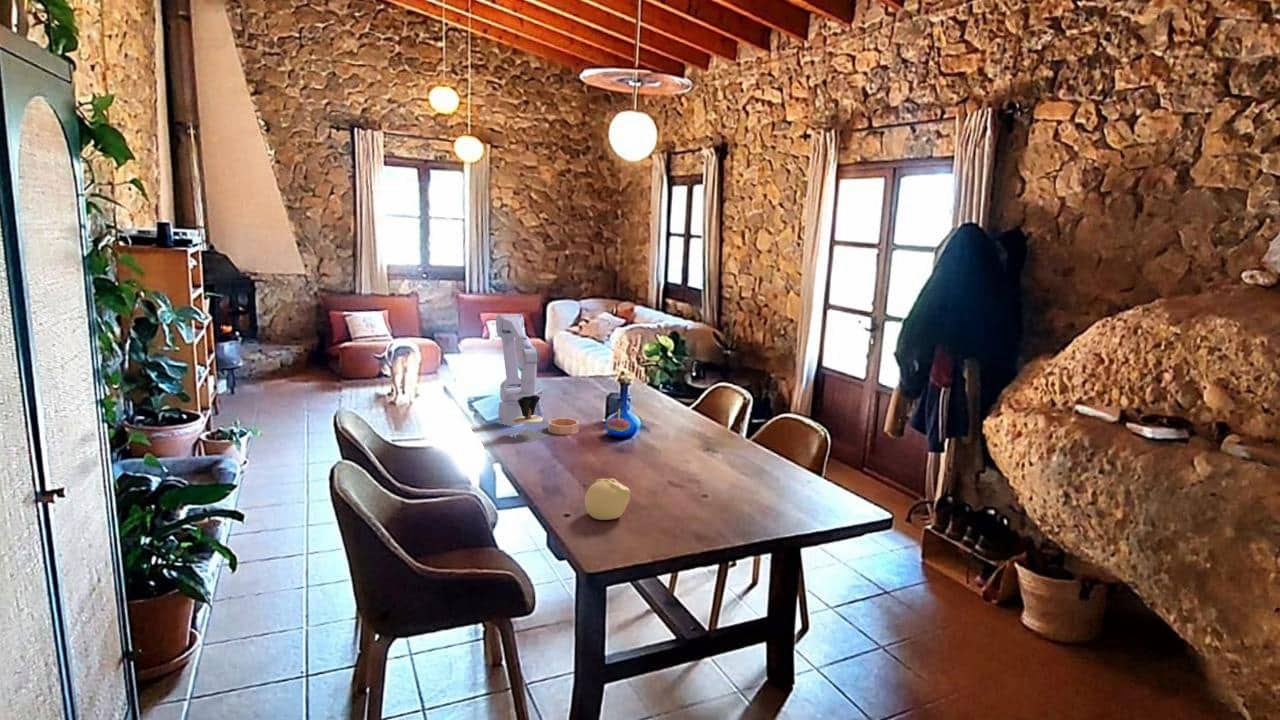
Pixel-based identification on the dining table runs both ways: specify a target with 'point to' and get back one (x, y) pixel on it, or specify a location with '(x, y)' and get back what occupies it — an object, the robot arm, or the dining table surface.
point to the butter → (607, 499)
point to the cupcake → (619, 423)
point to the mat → (529, 435)
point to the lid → (528, 418)
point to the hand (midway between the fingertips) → (527, 415)
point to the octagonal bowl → (563, 426)
